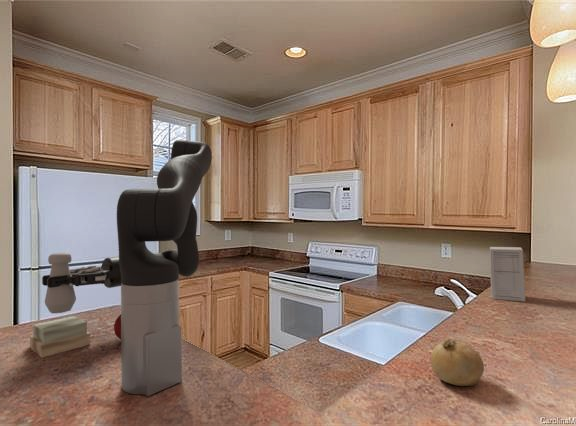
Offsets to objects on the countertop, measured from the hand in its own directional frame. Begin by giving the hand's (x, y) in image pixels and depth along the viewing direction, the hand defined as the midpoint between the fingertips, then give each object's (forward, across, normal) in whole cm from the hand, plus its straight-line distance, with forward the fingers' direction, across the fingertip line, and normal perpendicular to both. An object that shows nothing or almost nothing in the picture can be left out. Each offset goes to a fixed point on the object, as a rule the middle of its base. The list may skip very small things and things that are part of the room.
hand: (45, 281), depth 71 cm
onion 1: (-13, +10, +15) cm, 22 cm away
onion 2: (-39, +73, +15) cm, 84 cm away
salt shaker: (-3, 0, +7) cm, 8 cm away
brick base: (-2, 0, +15) cm, 15 cm away
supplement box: (-111, +73, +16) cm, 134 cm away
